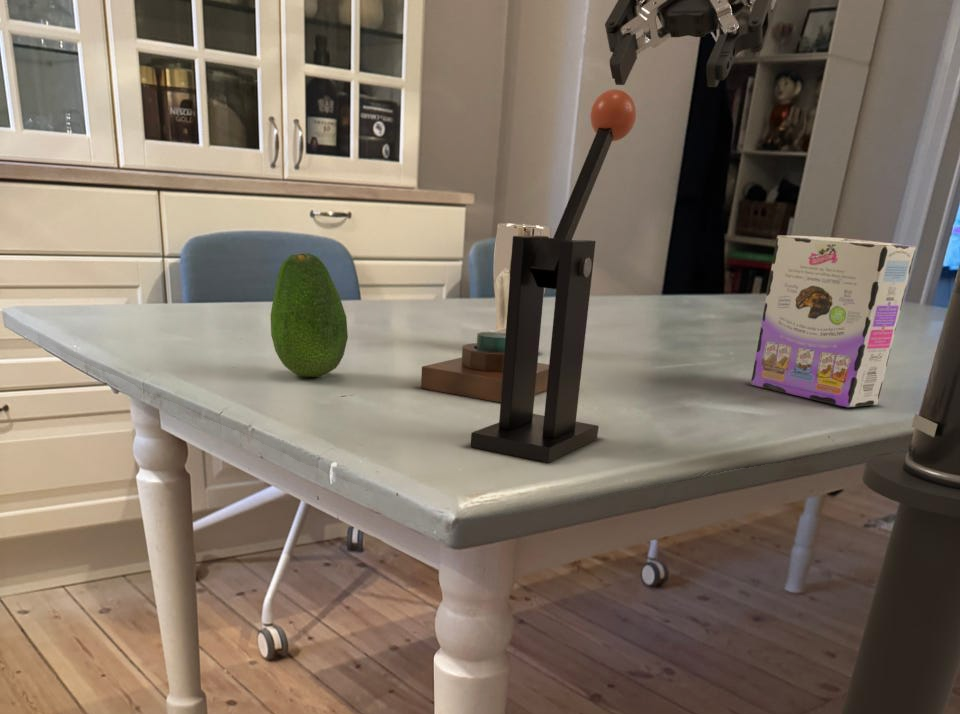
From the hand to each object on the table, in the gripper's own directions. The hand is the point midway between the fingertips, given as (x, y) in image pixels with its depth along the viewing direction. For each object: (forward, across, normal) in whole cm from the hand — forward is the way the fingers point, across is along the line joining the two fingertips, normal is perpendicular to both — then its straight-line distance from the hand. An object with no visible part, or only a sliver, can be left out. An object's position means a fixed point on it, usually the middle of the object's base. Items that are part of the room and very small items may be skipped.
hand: (663, 77), depth 81 cm
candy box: (+4, +14, +37) cm, 40 cm away
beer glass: (+5, -23, +35) cm, 42 cm away
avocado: (+29, -30, +12) cm, 43 cm away
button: (+19, -14, +16) cm, 29 cm away
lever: (+17, 0, -3) cm, 17 cm away
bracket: (+34, 0, +6) cm, 35 cm away
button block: (+21, -14, +19) cm, 32 cm away
